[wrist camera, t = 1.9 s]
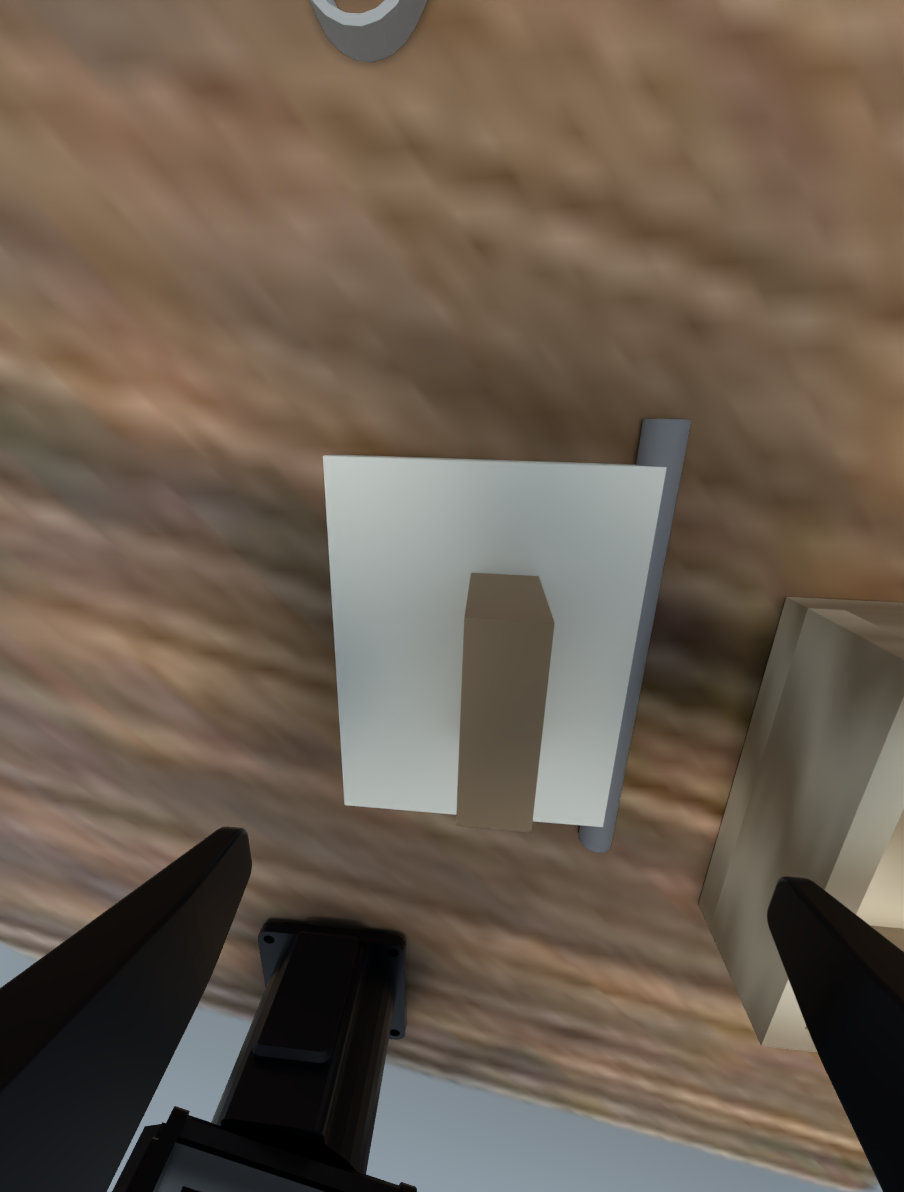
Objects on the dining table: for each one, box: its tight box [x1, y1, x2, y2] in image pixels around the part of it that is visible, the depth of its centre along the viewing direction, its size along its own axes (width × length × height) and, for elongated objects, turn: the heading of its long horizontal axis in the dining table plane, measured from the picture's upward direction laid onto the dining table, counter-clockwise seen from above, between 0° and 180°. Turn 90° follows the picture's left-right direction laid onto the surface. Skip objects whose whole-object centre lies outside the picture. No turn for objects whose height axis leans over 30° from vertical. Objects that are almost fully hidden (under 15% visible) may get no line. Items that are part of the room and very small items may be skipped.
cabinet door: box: [323, 419, 691, 853], centre depth 13 cm, size 15×10×5 cm
